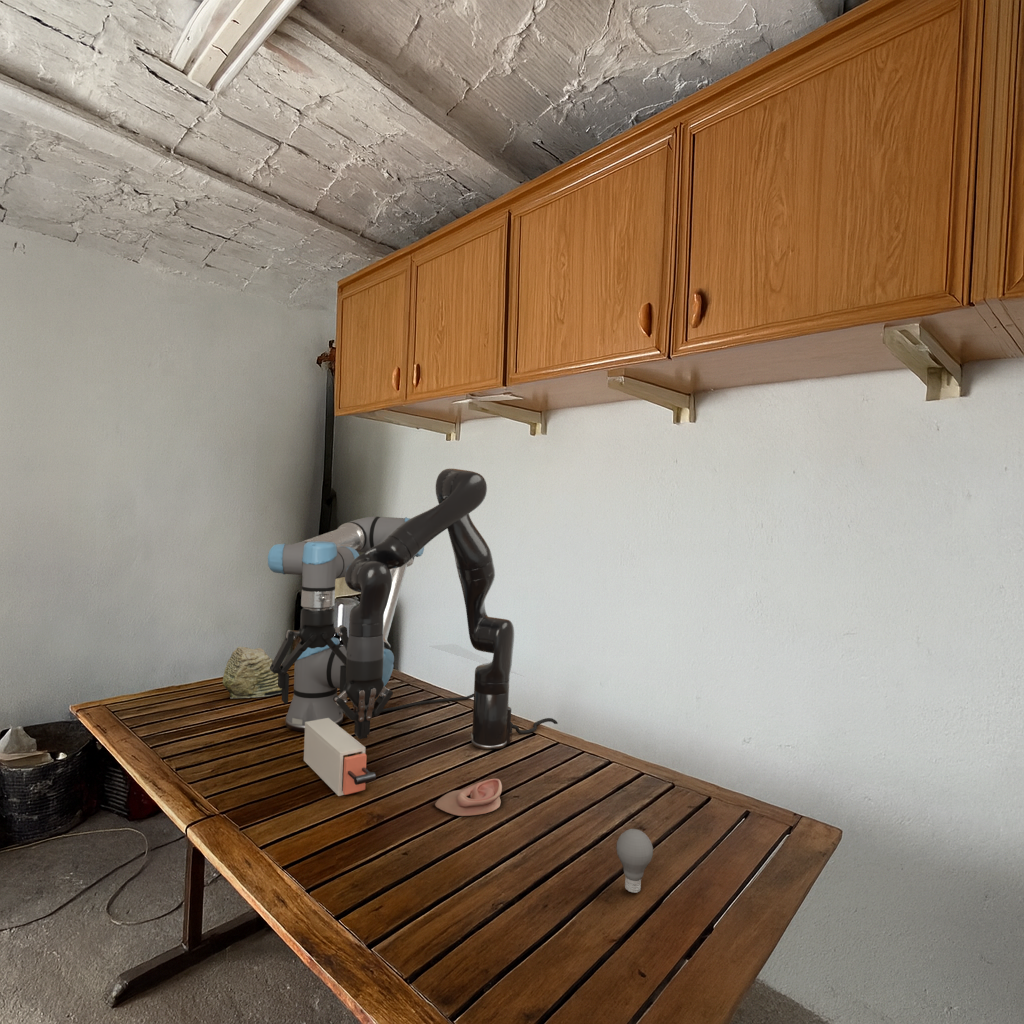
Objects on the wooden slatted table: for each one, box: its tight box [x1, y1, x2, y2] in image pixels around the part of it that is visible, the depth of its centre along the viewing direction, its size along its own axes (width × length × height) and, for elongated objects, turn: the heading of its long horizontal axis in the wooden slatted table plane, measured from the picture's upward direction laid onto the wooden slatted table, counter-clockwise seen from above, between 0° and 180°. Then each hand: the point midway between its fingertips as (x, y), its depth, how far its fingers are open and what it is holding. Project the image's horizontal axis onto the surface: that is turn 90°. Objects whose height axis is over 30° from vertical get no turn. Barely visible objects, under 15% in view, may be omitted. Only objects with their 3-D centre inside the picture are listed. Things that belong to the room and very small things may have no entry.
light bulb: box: [615, 828, 654, 894], centre depth 106 cm, size 6×6×10 cm
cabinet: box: [303, 718, 367, 797], centre depth 145 cm, size 22×6×9 cm, turn 38°
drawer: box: [342, 752, 377, 796], centre depth 141 cm, size 26×5×8 cm, turn 37°
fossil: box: [222, 646, 282, 699], centre depth 198 cm, size 9×18×15 cm, turn 132°
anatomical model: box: [434, 778, 503, 817], centre depth 133 cm, size 13×4×12 cm
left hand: (314, 697), depth 149 cm, fingers open, 13 cm apart
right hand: (362, 737), depth 133 cm, fingers closed
